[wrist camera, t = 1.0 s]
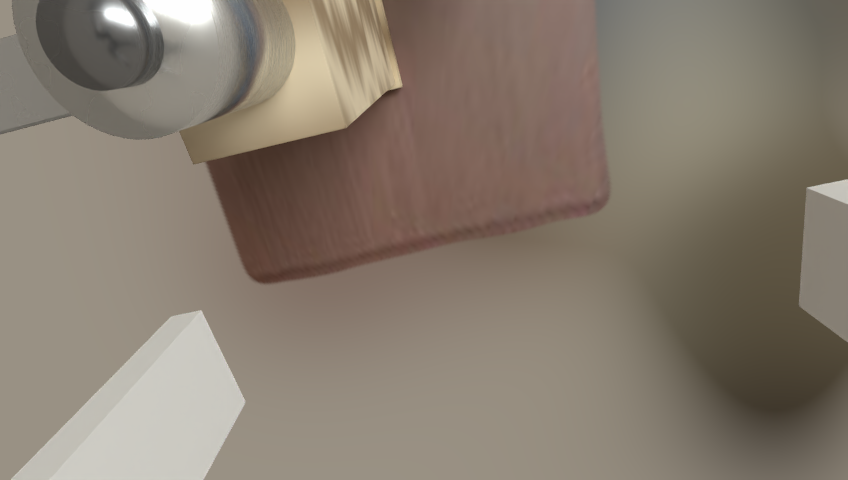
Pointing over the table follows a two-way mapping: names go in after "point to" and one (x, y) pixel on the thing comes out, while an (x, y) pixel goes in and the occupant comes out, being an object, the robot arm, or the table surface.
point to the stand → (311, 81)
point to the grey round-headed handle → (141, 62)
